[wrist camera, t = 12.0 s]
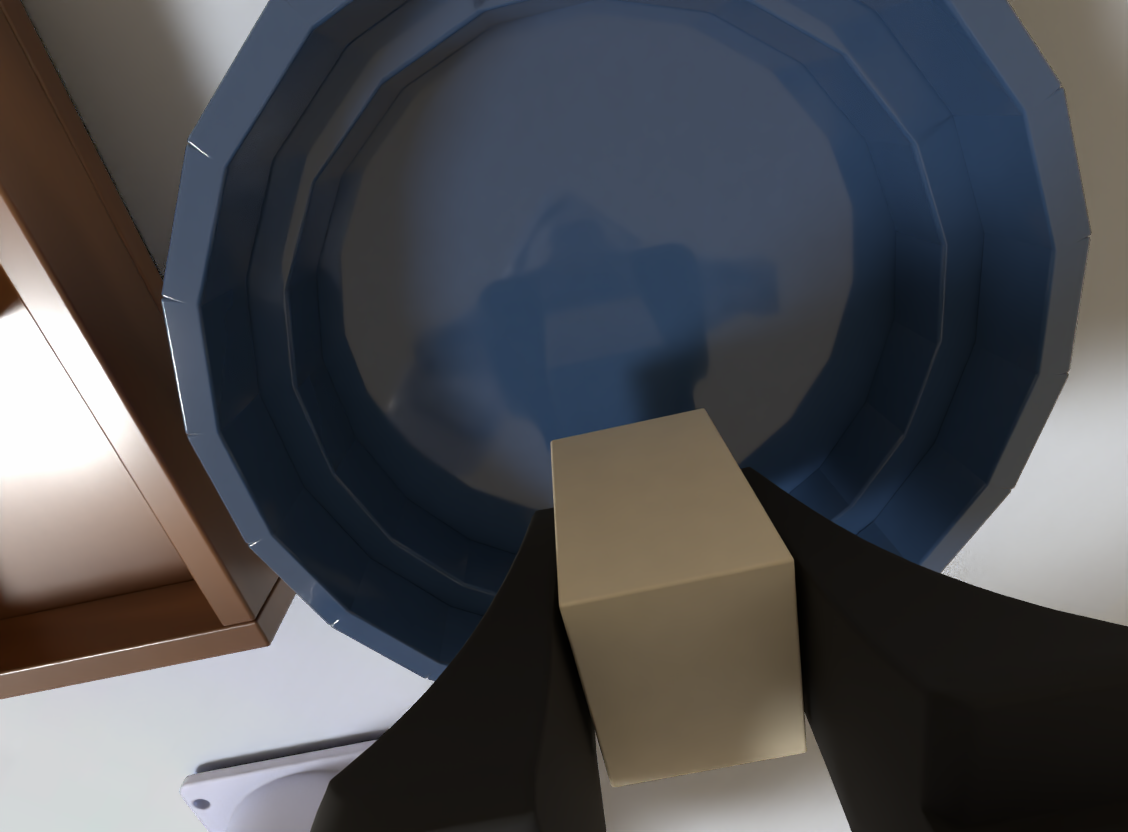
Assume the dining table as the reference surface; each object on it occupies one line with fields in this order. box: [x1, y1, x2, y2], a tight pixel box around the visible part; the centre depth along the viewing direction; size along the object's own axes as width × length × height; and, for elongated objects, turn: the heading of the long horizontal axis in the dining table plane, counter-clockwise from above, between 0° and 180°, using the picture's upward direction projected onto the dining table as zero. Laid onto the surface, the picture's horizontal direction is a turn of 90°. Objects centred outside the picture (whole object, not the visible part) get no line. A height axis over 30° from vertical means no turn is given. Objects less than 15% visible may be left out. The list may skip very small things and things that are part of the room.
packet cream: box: [551, 408, 807, 787], centre depth 11 cm, size 4×3×5 cm
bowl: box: [161, 0, 1091, 681], centre depth 12 cm, size 15×15×4 cm
